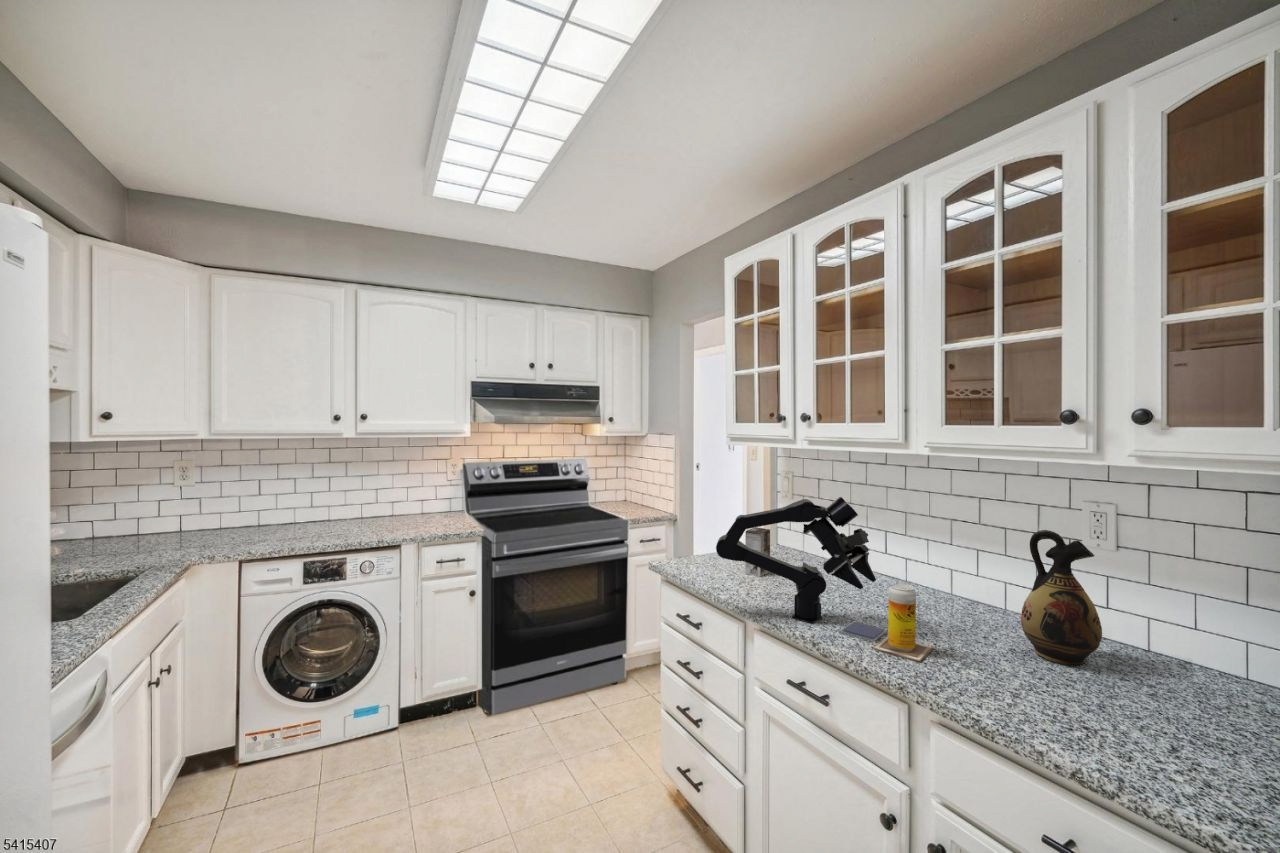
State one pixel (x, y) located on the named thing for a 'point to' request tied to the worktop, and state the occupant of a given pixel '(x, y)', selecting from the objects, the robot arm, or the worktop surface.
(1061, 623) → the ceramic jug
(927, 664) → the worktop surface
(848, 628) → the ink pad
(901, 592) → the beer can
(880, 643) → the marked square
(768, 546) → the coffee box
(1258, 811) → the worktop surface
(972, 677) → the worktop surface
